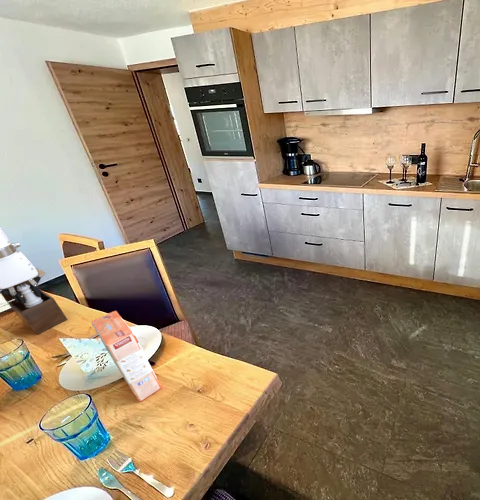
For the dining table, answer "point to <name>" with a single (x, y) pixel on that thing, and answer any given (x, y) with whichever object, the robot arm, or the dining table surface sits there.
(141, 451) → the dining table surface
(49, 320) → the chest
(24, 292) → the rook chess piece
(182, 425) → the dining table surface
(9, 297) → the lid
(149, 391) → the cracker box
